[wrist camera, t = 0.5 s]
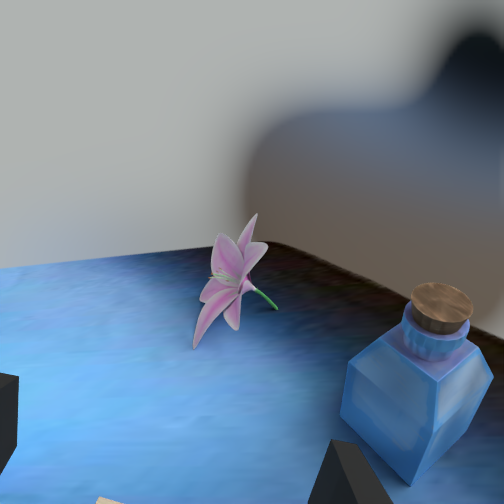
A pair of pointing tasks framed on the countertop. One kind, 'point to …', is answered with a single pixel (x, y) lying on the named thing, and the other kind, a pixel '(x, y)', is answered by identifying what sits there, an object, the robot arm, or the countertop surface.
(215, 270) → the lily
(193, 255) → the countertop surface
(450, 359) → the perfume bottle
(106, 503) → the birch slab
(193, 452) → the countertop surface
